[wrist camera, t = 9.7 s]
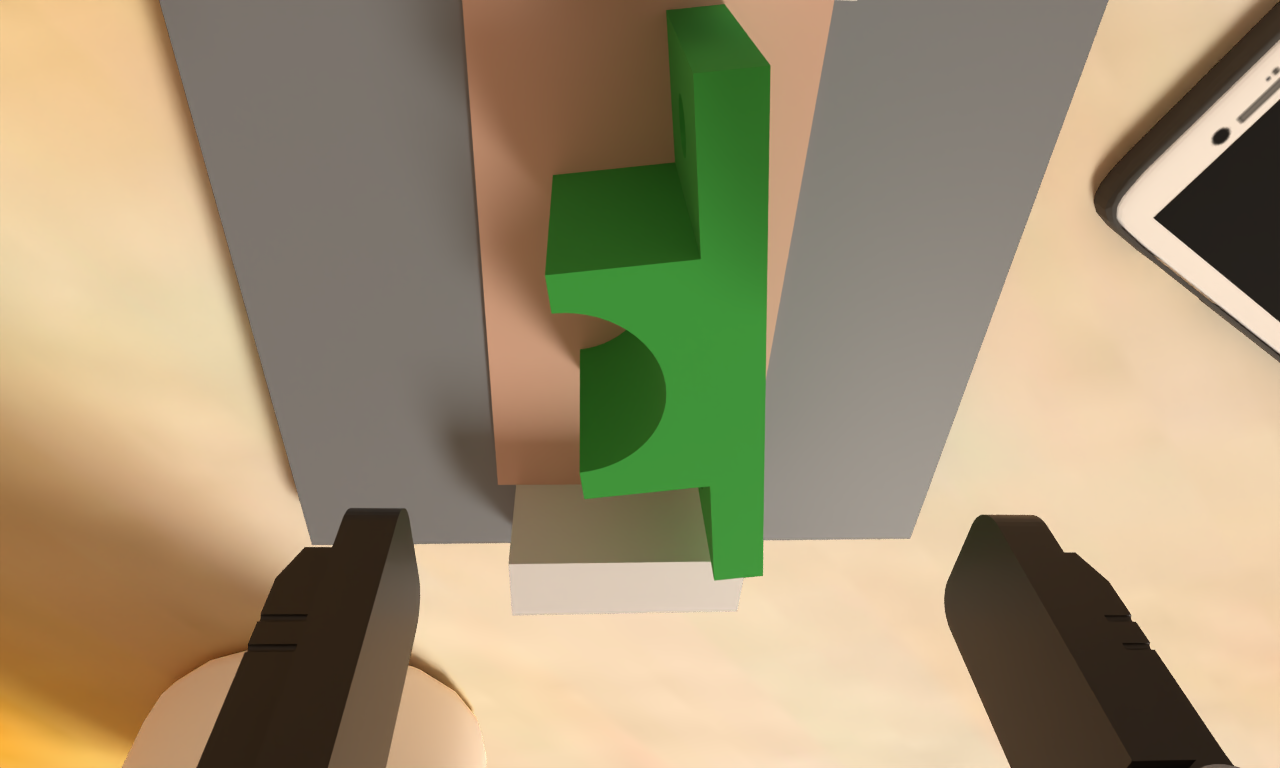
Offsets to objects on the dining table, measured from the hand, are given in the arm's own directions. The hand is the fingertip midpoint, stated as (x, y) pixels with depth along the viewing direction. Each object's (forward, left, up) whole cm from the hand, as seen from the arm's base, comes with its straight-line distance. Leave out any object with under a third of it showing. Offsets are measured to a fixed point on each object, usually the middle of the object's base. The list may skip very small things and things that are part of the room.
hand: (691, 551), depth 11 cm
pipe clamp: (0, 0, -9) cm, 9 cm away
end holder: (0, 0, -10) cm, 10 cm away
